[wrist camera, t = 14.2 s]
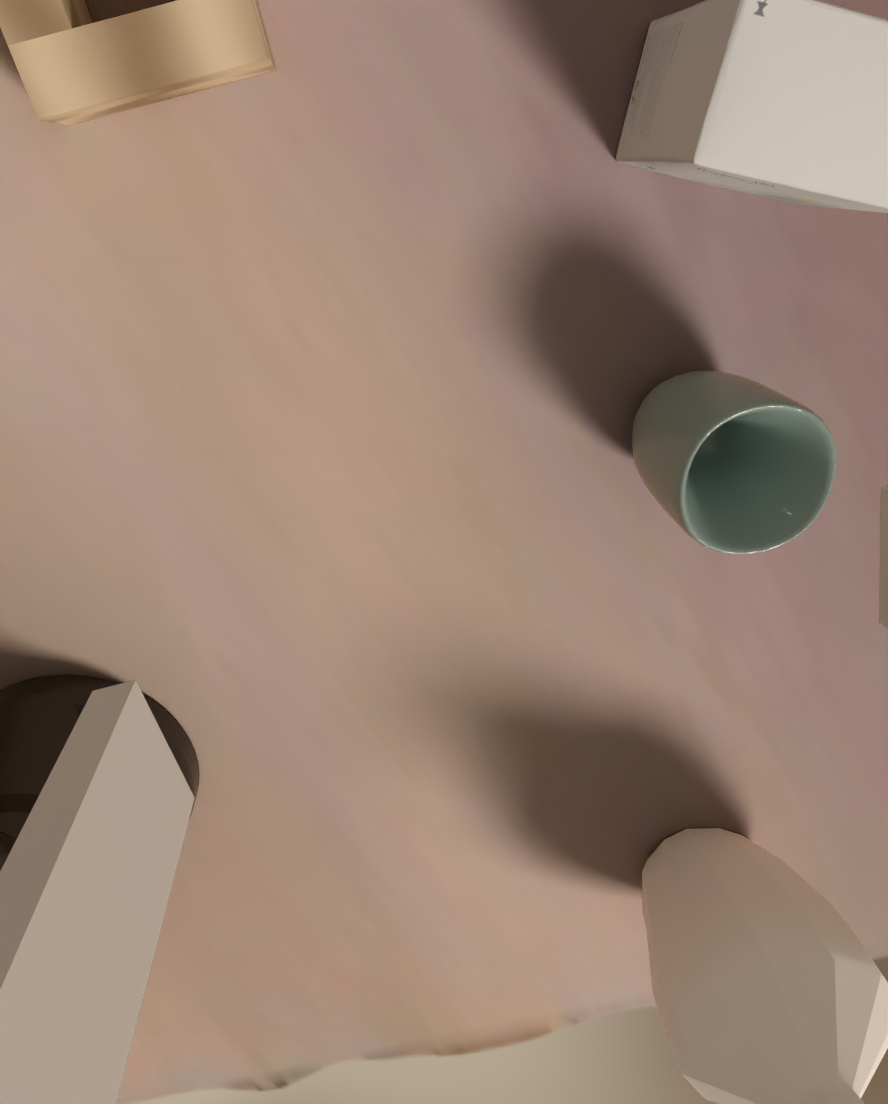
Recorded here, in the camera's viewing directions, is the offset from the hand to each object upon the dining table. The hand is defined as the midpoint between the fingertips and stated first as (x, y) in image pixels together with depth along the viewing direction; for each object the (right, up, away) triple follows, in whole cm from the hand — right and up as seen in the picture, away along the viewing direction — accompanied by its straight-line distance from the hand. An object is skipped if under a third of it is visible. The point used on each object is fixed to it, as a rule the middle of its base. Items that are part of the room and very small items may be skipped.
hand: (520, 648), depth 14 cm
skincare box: (+13, +23, +26) cm, 37 cm away
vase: (+19, -23, +48) cm, 56 cm away
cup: (+12, +9, +33) cm, 36 cm away
